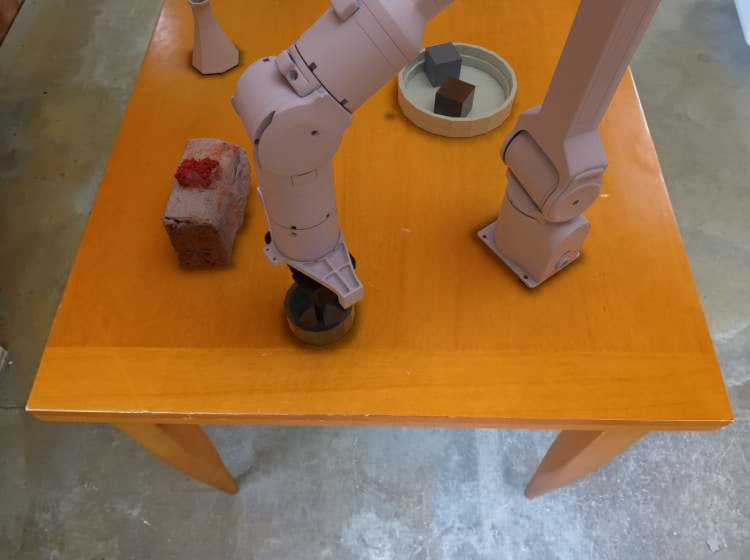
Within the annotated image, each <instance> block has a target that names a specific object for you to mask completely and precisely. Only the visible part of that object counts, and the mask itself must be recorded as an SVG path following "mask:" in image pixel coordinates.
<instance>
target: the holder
mask: <svg viewBox="0 0 750 560" xmlns="http://www.w3.org/2000/svg"><path fill="white" fill-rule="evenodd" d="M283 307H284V312H285V317H286V321H287V324H288V327H289V329H290V331H292V333H293V335H294V336H295V337H296V338H297V339H298V340H300V341H302V342H304V343H305V344H308V345H312V346H326V345H327V346H328V345H331V344H334V343H335V342H338V341H339V340H341V339H342V338H343V337H345V336H346V335H347V334H348V332H349V331H350V329H351V328H352V326H353V325H354V320H355V315H356V313H355V304H353V305H351V306H349V307H348V308H346V309H344V308H343V307H342V305H341V304H340V303H339V298H338V295H336V298H335V299H334V300H332V301H331V302H329V303H327V304H326V305H325V307H326V313H327V316H326V318H325V319H323V320H319V319H317V318H316V314H315V309H314V304H313V300H312V299H311V297H310V296H308V295H306V294H305V293H304V292H303V291H302V290H301V289H300V287H299V286H298V285H297V283H296V282H295V281H294V282H293V283H292V285H291V286H290V287H289V288H288V290H287V291H286V294H285V297H284V300H283Z"/></svg>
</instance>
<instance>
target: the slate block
mask: <svg viewBox="0 0 750 560" xmlns="http://www.w3.org/2000/svg"><path fill="white" fill-rule="evenodd" d="M442 43H443V44H440V43H437V44H438V45H435V44H433V45H434V46H431V45H428V46H429V47H427V46H425V47H424V48H425V59H424V72H425V74H426V76H427V78H428V79H429V81H430V83H431V85H432V86H433V88H435V87H439V86H442V84H443V83H444V82H445V81H446V79H447V78H448V77H449V76H451V77H453V78H456V79H459V78H460V71H461V64H462V57H461V56H460V54H459V53H458V51H457V50H456V48H455V46H454V45H453V43H454V42H453V41H447V42H442Z"/></svg>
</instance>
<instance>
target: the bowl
mask: <svg viewBox="0 0 750 560" xmlns="http://www.w3.org/2000/svg"><path fill="white" fill-rule="evenodd" d="M443 43H444V42H440V43H436V44H435V43H434V44H432V45H428V46H426V47H429V46H434V45H438V44H443ZM452 43H453V45H454V46H455V48H456V50H457V51H458V53H459V54H460V56H461V57H462V64H461V71H460V78H459V80H461V81H464V82H467V83H469V84H472V85H475V86H476V88H475V93H474V99H473V104H472V109H471V111H470V112H469V113H468V115H467V116H466V118H452V117H448V116H443V115H439V114H435V113H434V104H435V94H436V92H437V91H438V89H439V88H440V87H441V86H439V87H435V88H433V86H432V85H431V83H430V81H429V79H428V78H427V76H426V74H425V72H424V59H425V47H422V49H421V52H420V54H419V55H418V56H417V57H416V58H415V59H414V60H413V61H411V62H410V63H409V64H408V65H407V66H406V67H405V68H404V69H402V70H401V71H400V72H399V73H398V74H397V75H398V77H397V104H398V106H399V108H400V109H401V111H402V113H403V115H404V116H405V117H406V118H407V119H408V120H409V121H410V122H411V123H412V124H413V125H415V126H416V127H418V128H420V129H422V130H423V131H425V132H428V133H430V134H433V135H438V136H442V137H446V138H472V137H477V136H480V135H481V136H482V135H485V134H487V133H489V132H491V131H493V130H494V129H496V128H498V127H500V126H501V125H503V123H504V122H505V121H506V120H507V118H508V117H510V115H511V111H512V109H513V105H514V101H515V97H516V93H517V89H518V80H517V76H516V72H515V71H514V70H513V68H512V66H511V65H510V63H509V62H508V61H507V60H505V59H504V58H503V57H501V56H500V55H499V54H497V52H495V51H492V50H490V49H489V48H485V47H483V46H480V45H477V44H471V43H466V42H452Z"/></svg>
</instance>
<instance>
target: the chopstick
mask: <svg viewBox="0 0 750 560" xmlns="http://www.w3.org/2000/svg"><path fill="white" fill-rule="evenodd" d="M313 304H314V309H315V314H316V318H317V319H319V320H323V319H325V318H326V316H327V313H326V307H325V305H324V306H322V307H321V308H319V307H317V305H316V304H315V303H314V301H313Z"/></svg>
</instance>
